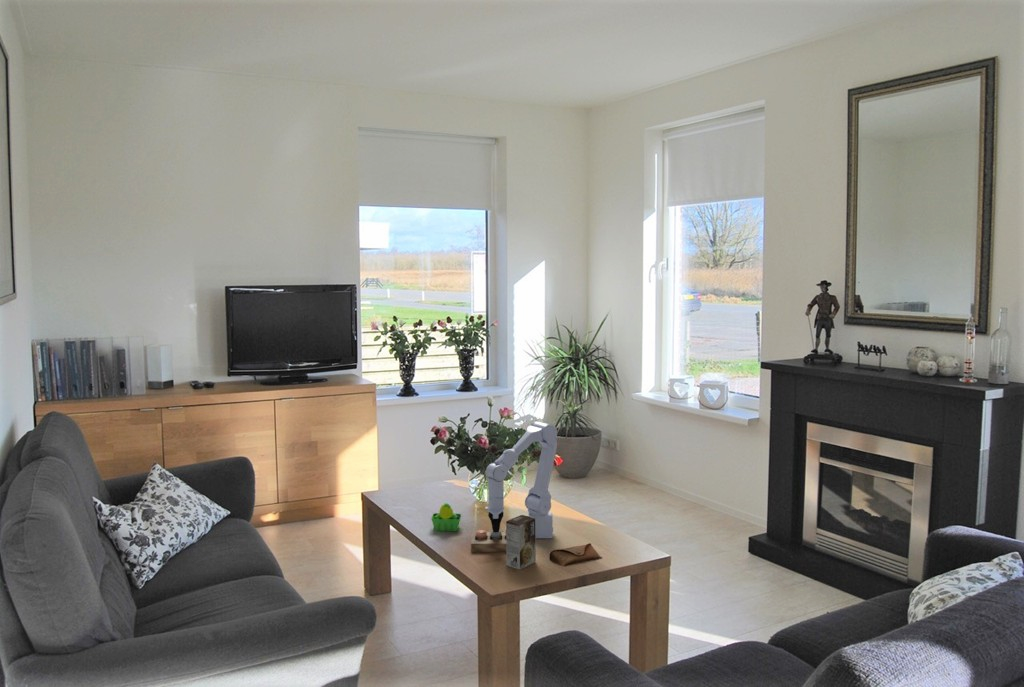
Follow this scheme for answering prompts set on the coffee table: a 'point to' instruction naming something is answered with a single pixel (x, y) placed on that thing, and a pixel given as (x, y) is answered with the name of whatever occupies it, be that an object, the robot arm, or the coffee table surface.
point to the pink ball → (481, 534)
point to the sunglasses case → (574, 555)
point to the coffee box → (520, 542)
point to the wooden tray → (488, 543)
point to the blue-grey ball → (495, 535)
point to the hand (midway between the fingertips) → (496, 531)
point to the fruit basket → (446, 519)
